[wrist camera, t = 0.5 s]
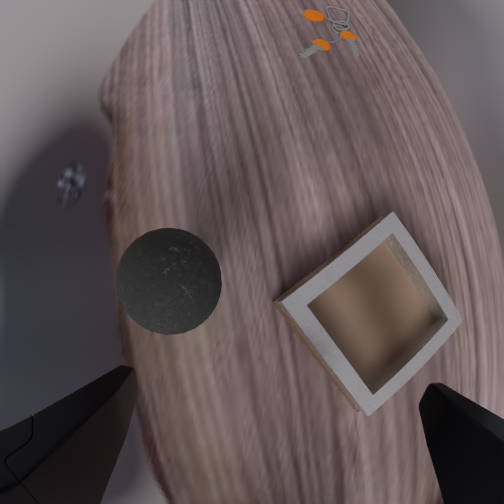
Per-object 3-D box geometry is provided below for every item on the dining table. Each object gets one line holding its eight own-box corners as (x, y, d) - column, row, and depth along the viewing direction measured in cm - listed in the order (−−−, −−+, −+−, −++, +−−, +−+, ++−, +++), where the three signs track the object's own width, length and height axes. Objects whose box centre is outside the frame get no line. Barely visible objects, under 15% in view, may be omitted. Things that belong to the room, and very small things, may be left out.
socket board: (353, 408, 22) (357, 412, 21) (272, 301, 23) (273, 301, 22) (445, 320, 23) (451, 320, 22) (377, 218, 25) (382, 215, 24)
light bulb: (172, 240, 24) (129, 197, 14) (239, 269, 23) (237, 242, 14) (143, 307, 23) (81, 306, 13) (209, 338, 22) (187, 361, 13)
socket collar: (358, 408, 21) (368, 416, 19) (277, 302, 22) (281, 301, 20) (449, 320, 22) (462, 320, 20) (382, 218, 24) (393, 211, 22)
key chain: (301, 1, 30) (302, -3, 29) (355, 14, 30) (357, 10, 29) (294, 58, 28) (295, 53, 27) (361, 74, 28) (363, 69, 27)
